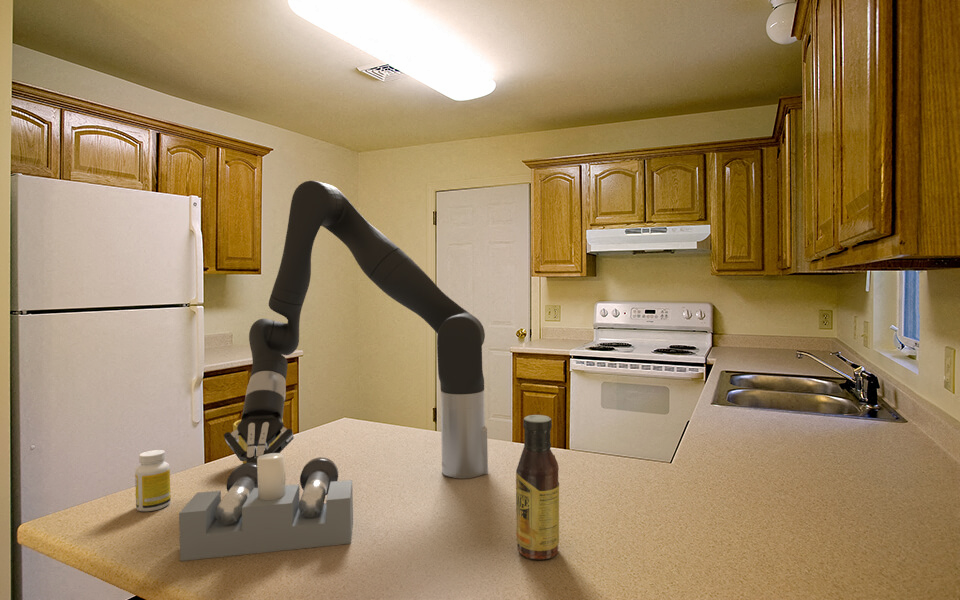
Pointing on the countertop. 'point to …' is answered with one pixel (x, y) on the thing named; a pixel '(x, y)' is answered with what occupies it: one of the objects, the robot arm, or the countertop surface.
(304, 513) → the knob
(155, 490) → the supplement bottle
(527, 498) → the sauce bottle
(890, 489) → the countertop surface
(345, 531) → the slotted grey stand
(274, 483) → the white cylinder
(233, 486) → the knob
